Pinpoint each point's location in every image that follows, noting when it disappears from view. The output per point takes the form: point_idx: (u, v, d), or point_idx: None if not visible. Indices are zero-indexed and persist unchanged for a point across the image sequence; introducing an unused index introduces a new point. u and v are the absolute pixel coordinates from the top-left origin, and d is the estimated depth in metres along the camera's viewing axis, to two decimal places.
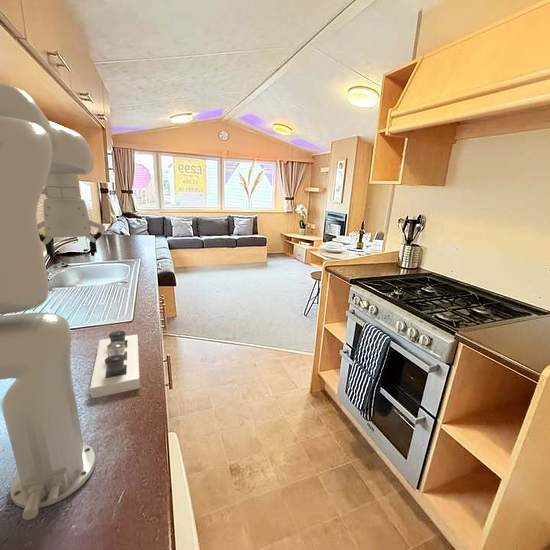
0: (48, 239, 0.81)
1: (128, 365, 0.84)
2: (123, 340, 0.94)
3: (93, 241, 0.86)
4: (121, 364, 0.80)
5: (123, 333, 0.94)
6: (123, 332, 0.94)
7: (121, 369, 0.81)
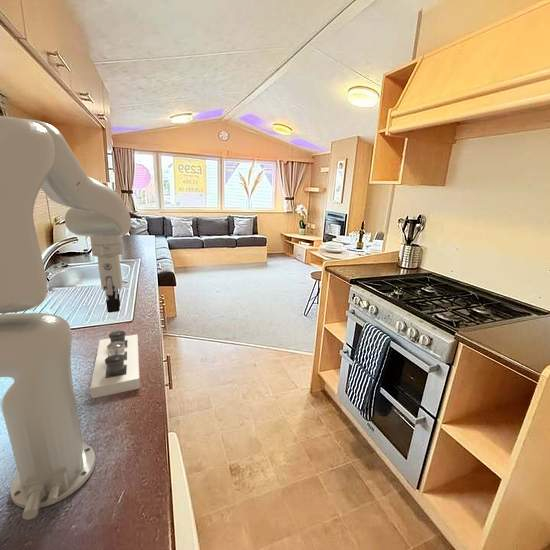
0: None
1: (128, 365, 0.84)
2: (123, 340, 0.94)
3: (117, 292, 0.93)
4: (121, 364, 0.80)
5: (123, 333, 0.94)
6: (123, 332, 0.94)
7: (121, 369, 0.81)
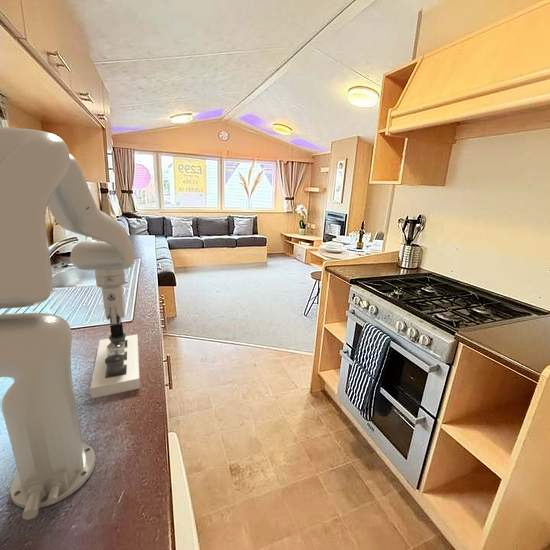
0: (120, 320, 0.92)
1: (128, 365, 0.84)
2: None
3: None
4: (121, 364, 0.80)
5: (123, 335, 0.94)
6: (123, 334, 0.95)
7: (121, 369, 0.81)
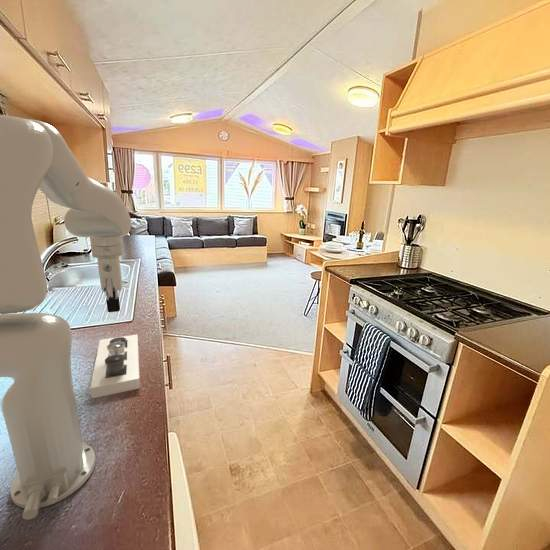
0: None
1: (128, 365, 0.84)
2: (124, 347, 0.94)
3: (116, 295, 0.91)
4: (121, 364, 0.80)
5: (124, 340, 0.94)
6: (124, 339, 0.95)
7: (121, 369, 0.81)
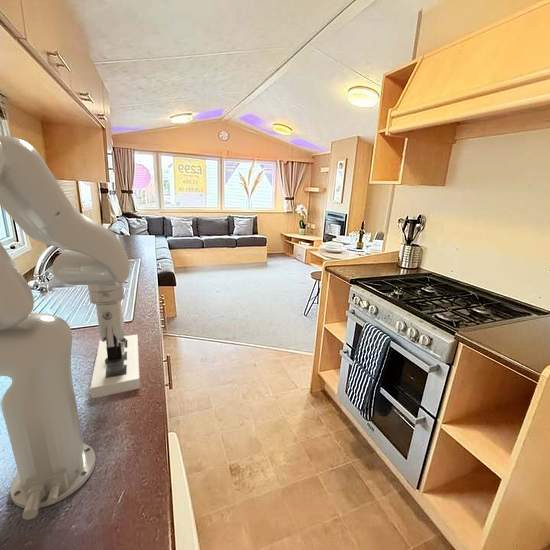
0: (118, 340, 0.79)
1: (128, 365, 0.84)
2: (124, 347, 0.94)
3: None
4: (121, 364, 0.80)
5: (124, 340, 0.94)
6: (124, 339, 0.95)
7: (121, 370, 0.81)
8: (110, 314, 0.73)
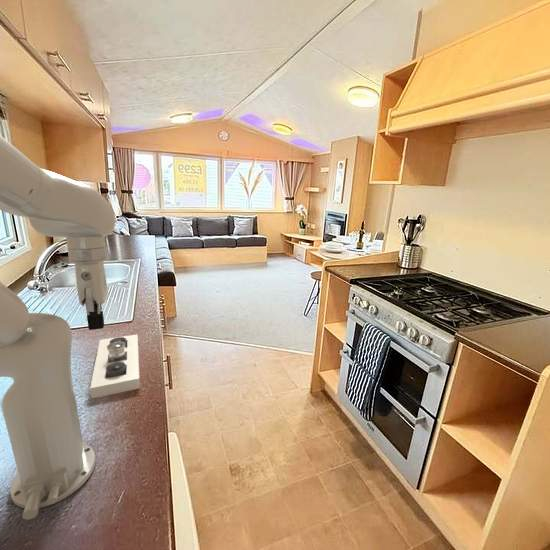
0: None
1: (128, 365, 0.84)
2: (124, 347, 0.94)
3: (100, 309, 0.75)
4: (122, 372, 0.81)
5: (124, 340, 0.94)
6: (124, 339, 0.95)
7: None
8: (90, 275, 0.68)
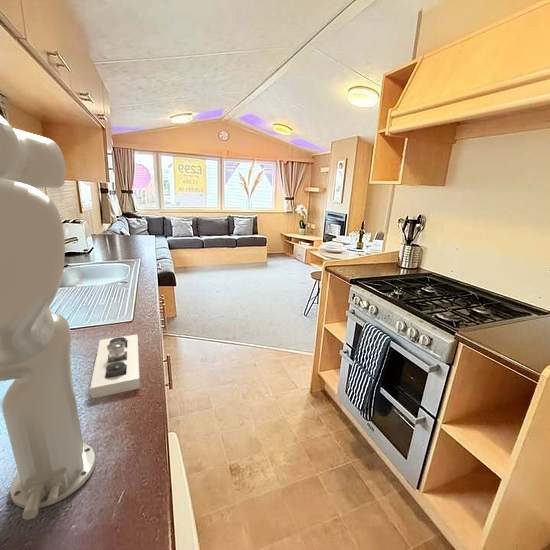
0: None
1: (128, 365, 0.84)
2: (124, 347, 0.94)
3: None
4: (122, 372, 0.81)
5: (124, 340, 0.94)
6: (124, 339, 0.95)
7: None
8: None
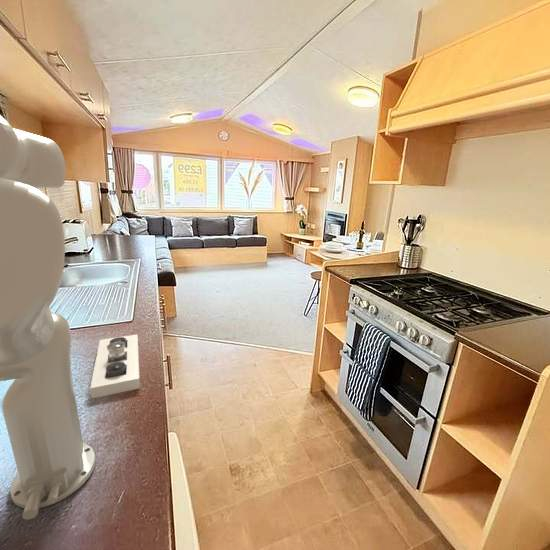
0: None
1: (128, 365, 0.84)
2: (124, 347, 0.94)
3: None
4: (122, 372, 0.81)
5: (124, 340, 0.94)
6: (124, 339, 0.95)
7: None
8: None
